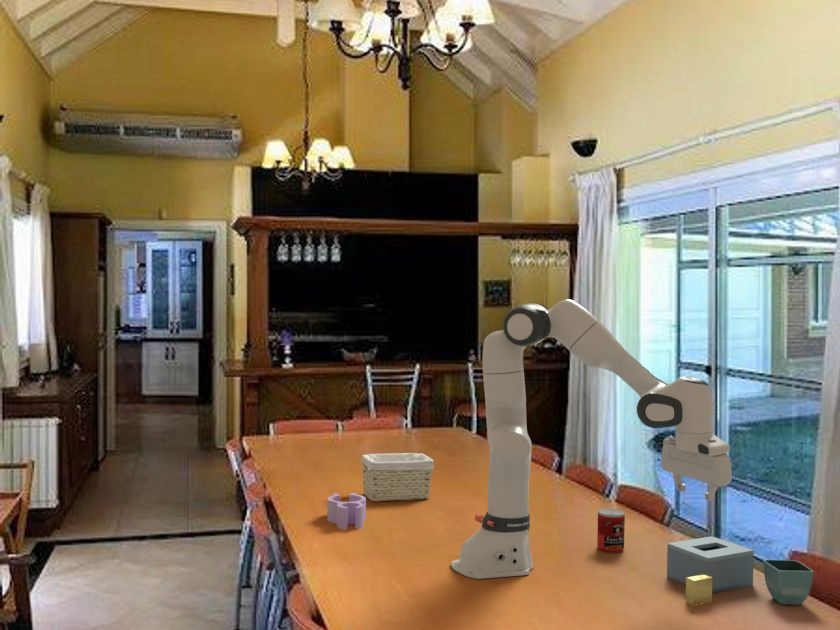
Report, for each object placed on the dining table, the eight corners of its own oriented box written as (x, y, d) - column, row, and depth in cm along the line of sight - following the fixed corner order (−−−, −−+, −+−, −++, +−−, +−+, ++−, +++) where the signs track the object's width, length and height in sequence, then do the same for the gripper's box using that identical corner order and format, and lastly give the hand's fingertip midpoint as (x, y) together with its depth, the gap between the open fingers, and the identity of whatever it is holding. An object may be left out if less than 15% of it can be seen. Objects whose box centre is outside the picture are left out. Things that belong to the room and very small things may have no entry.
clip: (371, 529, 265) (371, 507, 265) (331, 530, 262) (331, 508, 262) (362, 513, 284) (362, 492, 284) (325, 514, 282) (325, 493, 282)
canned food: (605, 554, 242) (606, 515, 242) (592, 546, 250) (593, 509, 250) (629, 552, 244) (630, 514, 244) (615, 544, 252) (616, 507, 252)
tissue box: (707, 594, 210) (708, 558, 210) (666, 577, 223) (667, 543, 222) (752, 585, 217) (753, 550, 217) (711, 569, 230) (711, 536, 230)
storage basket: (421, 490, 319) (422, 451, 319) (434, 500, 303) (435, 459, 303) (359, 493, 312) (360, 453, 312) (369, 504, 297) (370, 462, 296)
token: (693, 605, 202) (693, 580, 202) (685, 602, 204) (686, 577, 204) (711, 601, 205) (712, 577, 205) (703, 598, 207) (704, 574, 207)
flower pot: (796, 595, 210) (797, 559, 210) (813, 608, 202) (814, 570, 201) (761, 595, 210) (762, 559, 210) (777, 608, 201) (778, 570, 201)
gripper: (654, 435, 220) (655, 488, 221) (717, 450, 202) (717, 507, 203) (672, 432, 223) (673, 483, 224) (735, 446, 205) (736, 502, 206)
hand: (695, 495), depth 213 cm, fingers open, 8 cm apart
